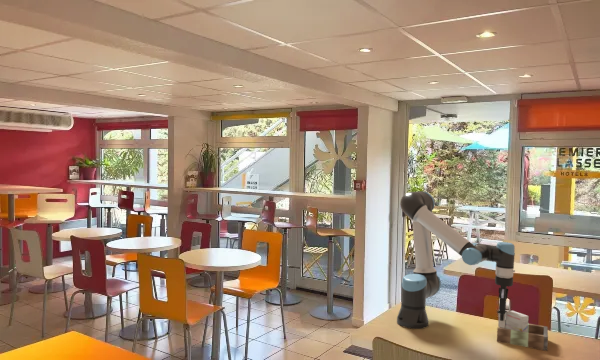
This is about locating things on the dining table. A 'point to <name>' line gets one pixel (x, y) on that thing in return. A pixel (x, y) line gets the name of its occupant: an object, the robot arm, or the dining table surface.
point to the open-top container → (525, 337)
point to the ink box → (516, 321)
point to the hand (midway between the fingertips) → (501, 326)
